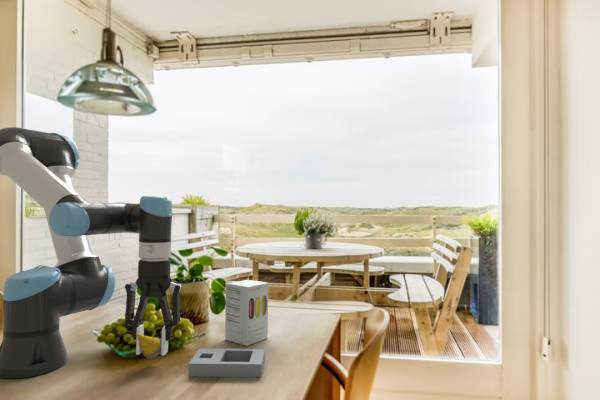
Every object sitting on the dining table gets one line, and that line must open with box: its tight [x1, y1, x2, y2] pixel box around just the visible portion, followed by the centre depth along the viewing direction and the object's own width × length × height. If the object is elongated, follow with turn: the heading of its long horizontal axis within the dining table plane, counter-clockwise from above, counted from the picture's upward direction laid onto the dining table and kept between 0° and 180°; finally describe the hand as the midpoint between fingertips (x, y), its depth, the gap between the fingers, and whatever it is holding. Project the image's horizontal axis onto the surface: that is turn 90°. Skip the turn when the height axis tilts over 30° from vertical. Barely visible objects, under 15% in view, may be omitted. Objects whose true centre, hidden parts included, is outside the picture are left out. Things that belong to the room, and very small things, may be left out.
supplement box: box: [224, 279, 269, 347], centre depth 123 cm, size 10×9×17 cm
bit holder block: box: [188, 348, 266, 378], centre depth 101 cm, size 17×10×3 cm, turn 90°
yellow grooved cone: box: [136, 334, 162, 360], centre depth 101 cm, size 5×5×10 cm
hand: (152, 352), depth 101 cm, fingers closed on yellow grooved cone, 5 cm apart
